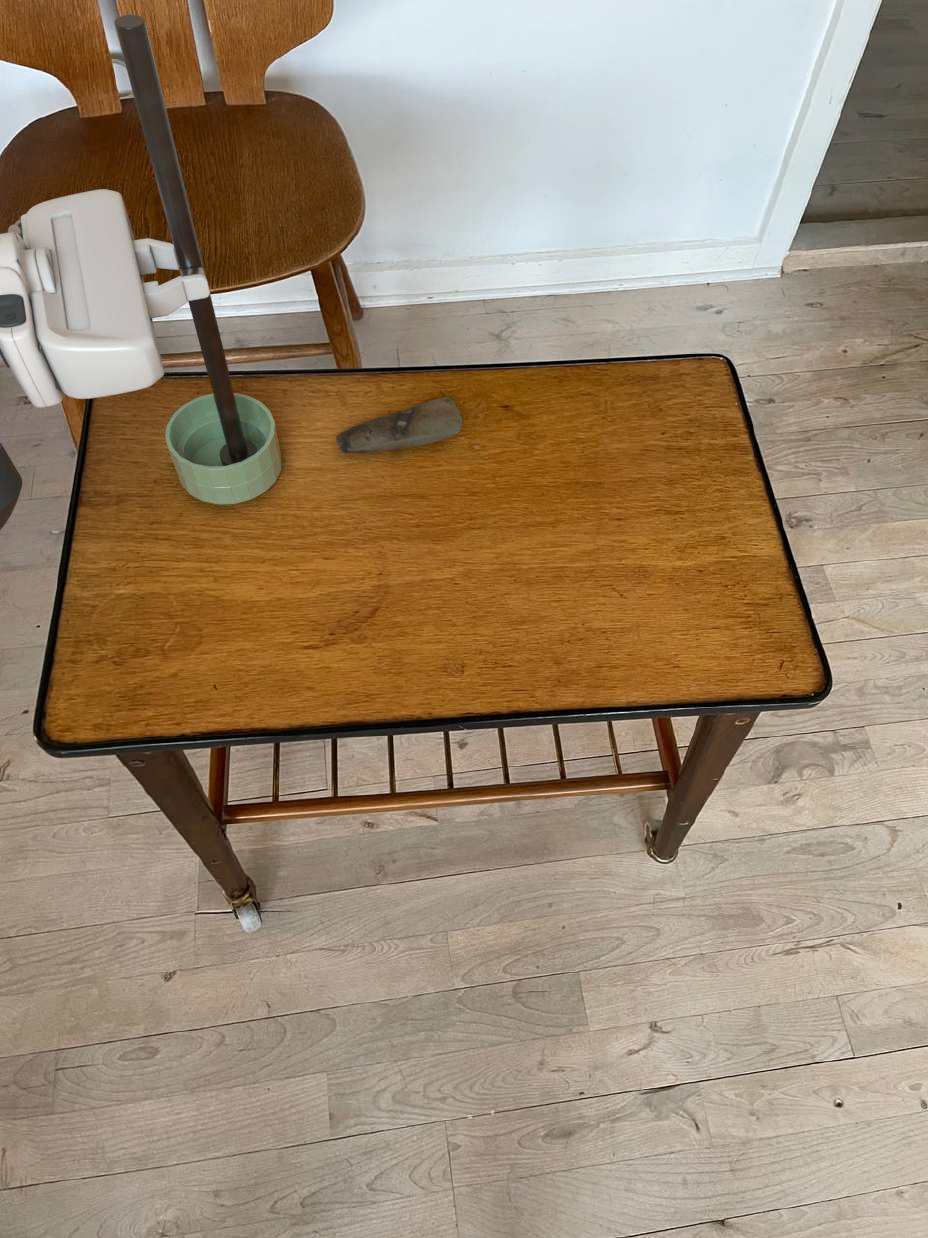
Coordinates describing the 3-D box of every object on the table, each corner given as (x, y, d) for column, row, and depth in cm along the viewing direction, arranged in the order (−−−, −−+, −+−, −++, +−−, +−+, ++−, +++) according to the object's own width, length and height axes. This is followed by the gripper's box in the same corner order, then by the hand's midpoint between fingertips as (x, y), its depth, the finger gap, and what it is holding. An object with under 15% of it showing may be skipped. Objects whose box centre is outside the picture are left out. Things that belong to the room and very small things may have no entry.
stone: (450, 407, 90) (451, 391, 88) (468, 439, 88) (469, 423, 86) (332, 438, 87) (330, 422, 85) (348, 472, 85) (346, 456, 83)
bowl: (157, 480, 83) (142, 440, 78) (224, 419, 88) (213, 378, 83) (238, 524, 80) (227, 485, 76) (302, 459, 85) (296, 418, 81)
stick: (214, 464, 83) (85, 23, 51) (237, 442, 84) (127, 1, 52) (243, 480, 82) (131, 40, 50) (266, 457, 83) (172, 18, 51)
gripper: (22, 255, 70) (190, 229, 73) (40, 424, 60) (236, 387, 63) (-11, 181, 65) (172, 156, 68) (4, 353, 55) (219, 315, 58)
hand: (203, 268), depth 65 cm, fingers closed on stick, 2 cm apart
